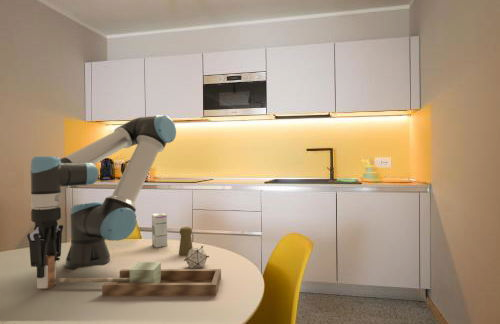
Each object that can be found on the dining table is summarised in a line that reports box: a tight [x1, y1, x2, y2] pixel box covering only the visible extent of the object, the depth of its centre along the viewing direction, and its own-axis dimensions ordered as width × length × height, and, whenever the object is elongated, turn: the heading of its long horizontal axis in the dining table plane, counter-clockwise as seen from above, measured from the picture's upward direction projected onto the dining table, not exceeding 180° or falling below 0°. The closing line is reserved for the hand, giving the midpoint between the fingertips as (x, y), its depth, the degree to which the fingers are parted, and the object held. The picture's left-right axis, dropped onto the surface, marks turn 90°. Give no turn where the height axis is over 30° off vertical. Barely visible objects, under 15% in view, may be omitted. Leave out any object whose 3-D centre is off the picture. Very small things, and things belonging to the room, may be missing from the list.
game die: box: [183, 245, 210, 269], centre depth 113 cm, size 9×8×10 cm
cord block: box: [37, 256, 162, 290], centre depth 95 cm, size 35×7×9 cm, turn 89°
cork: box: [178, 226, 194, 257], centre depth 133 cm, size 6×6×11 cm
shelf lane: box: [101, 268, 222, 297], centre depth 95 cm, size 32×13×4 cm, turn 89°
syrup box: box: [151, 212, 168, 248], centre depth 146 cm, size 6×6×14 cm
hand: (46, 285), depth 95 cm, fingers closed on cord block, 3 cm apart
